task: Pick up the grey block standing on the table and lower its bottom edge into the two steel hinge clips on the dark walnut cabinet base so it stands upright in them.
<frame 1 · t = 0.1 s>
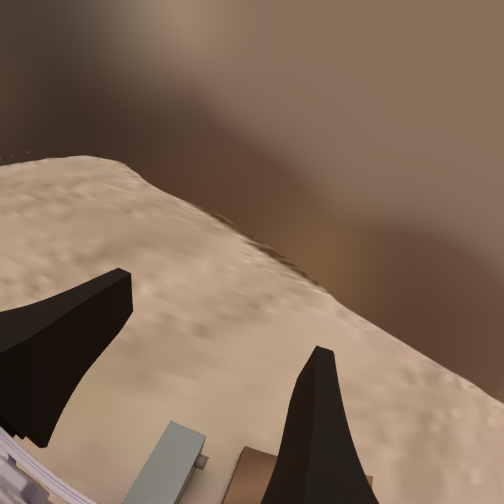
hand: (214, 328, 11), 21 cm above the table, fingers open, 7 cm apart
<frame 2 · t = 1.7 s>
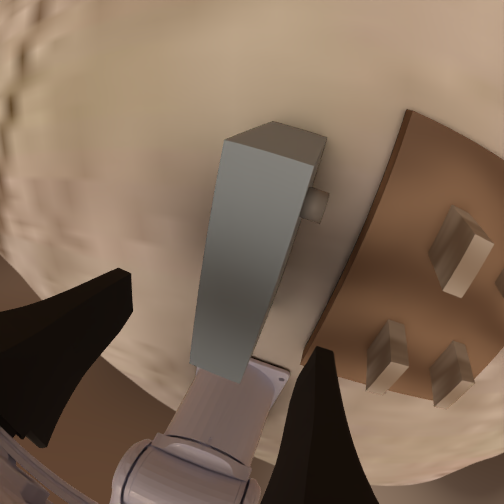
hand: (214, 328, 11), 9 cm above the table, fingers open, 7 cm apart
grey block: (272, 225, 18), on the table
cabinet base: (445, 290, 17), on the table
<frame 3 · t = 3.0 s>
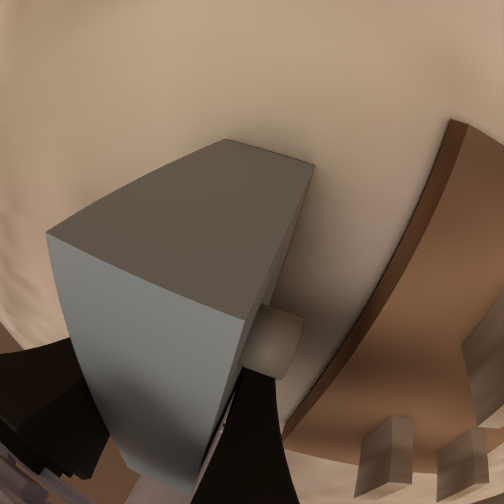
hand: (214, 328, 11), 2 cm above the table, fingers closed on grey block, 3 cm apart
grey block: (232, 295, 12), on the table, touching gripper
cabinet base: (470, 372, 11), on the table
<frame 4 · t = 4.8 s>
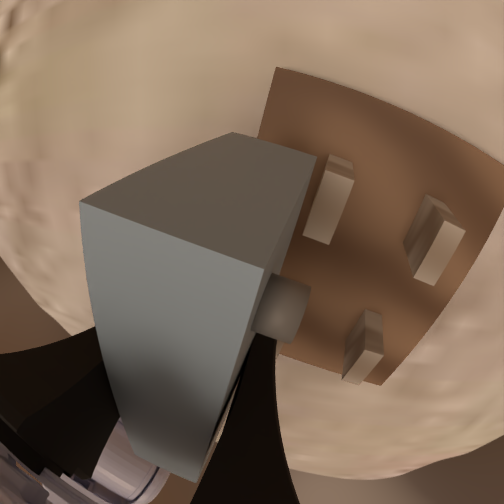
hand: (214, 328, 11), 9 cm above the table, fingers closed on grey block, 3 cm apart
grey block: (238, 282, 13), point 7 cm above the table, touching gripper
cabinet base: (351, 253, 18), on the table
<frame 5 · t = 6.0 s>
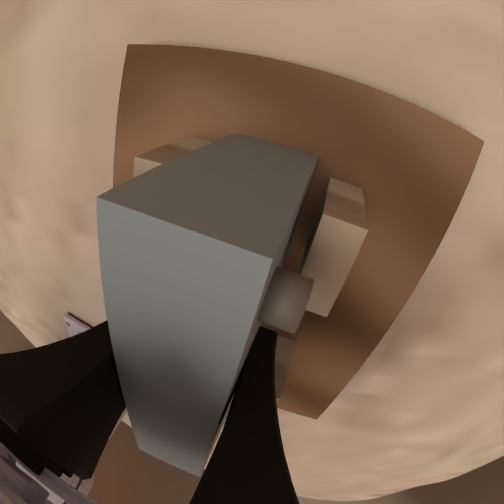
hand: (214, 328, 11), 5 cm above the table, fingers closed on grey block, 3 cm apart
grey block: (242, 278, 13), point 2 cm above the table, touching gripper
cabinet base: (251, 262, 15), on the table
when the fingers open (5 cm above the table, at t = 6.4 s): grey block stays where it is, resting on cabinet base.
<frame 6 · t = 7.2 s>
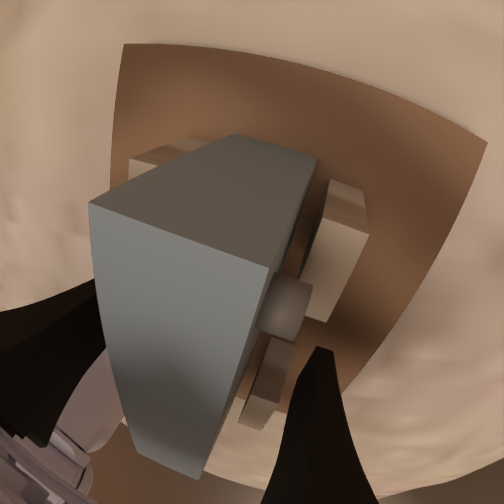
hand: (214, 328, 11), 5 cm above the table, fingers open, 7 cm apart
grey block: (240, 281, 13), point 1 cm above the table, touching cabinet base
cabinet base: (250, 264, 14), on the table
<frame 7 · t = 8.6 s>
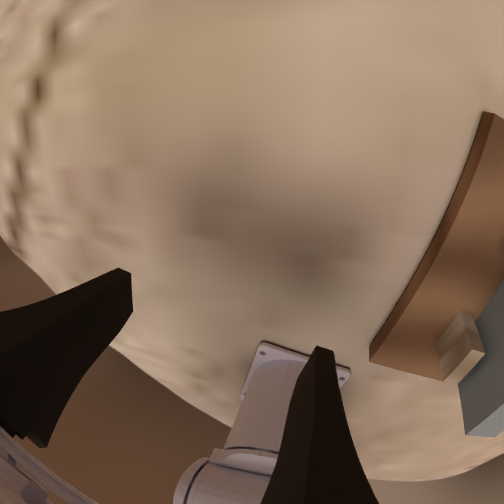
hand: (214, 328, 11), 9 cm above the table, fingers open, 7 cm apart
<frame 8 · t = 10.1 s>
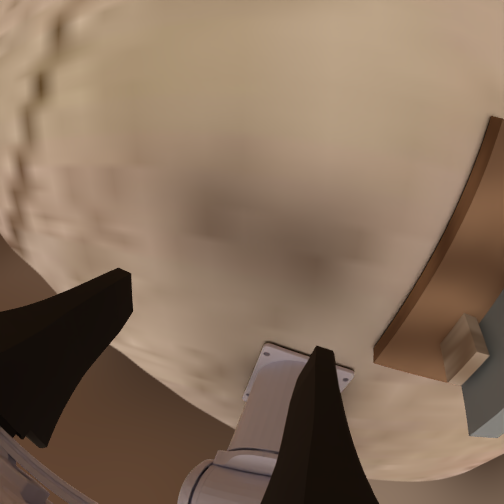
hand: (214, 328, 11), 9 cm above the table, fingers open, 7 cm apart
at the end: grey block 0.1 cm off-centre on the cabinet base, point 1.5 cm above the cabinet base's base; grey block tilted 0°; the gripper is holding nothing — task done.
